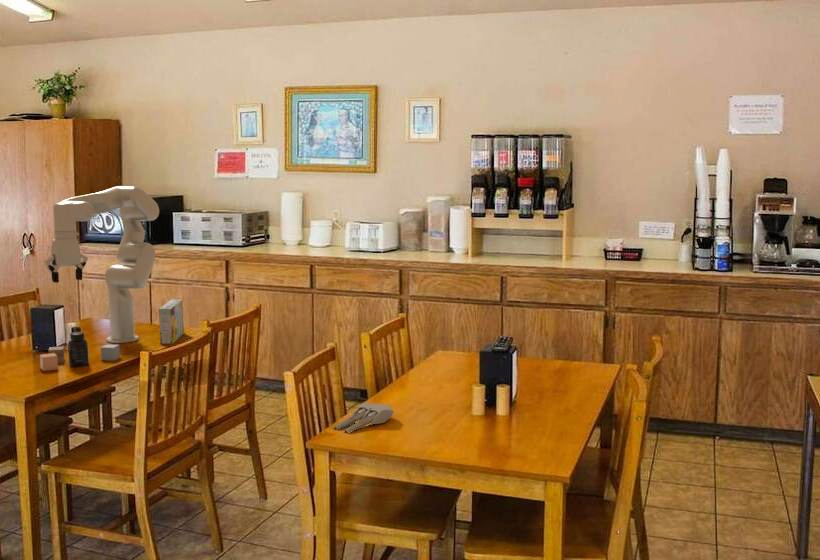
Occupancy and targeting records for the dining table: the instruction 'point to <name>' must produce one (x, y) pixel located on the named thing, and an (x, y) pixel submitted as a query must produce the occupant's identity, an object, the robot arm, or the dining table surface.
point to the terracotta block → (48, 362)
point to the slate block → (110, 352)
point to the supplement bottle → (78, 350)
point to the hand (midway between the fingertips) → (67, 280)
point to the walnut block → (57, 353)
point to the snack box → (171, 321)
